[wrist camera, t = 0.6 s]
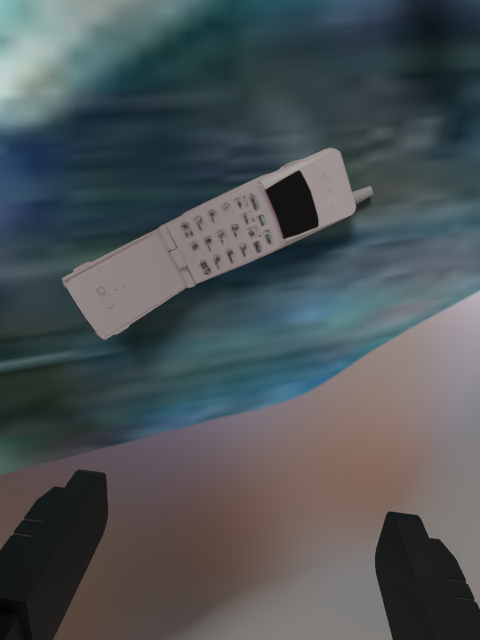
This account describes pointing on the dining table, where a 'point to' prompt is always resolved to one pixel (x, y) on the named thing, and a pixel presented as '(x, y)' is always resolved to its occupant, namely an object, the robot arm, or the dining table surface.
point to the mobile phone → (213, 240)
